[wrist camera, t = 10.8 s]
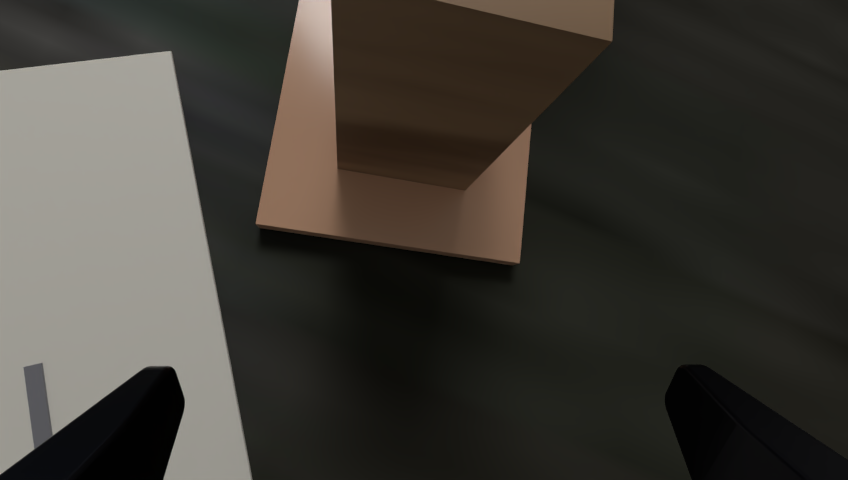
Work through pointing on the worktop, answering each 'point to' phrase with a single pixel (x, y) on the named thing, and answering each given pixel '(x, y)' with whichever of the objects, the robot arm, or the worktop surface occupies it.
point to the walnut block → (452, 79)
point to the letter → (107, 259)
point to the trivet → (370, 194)
